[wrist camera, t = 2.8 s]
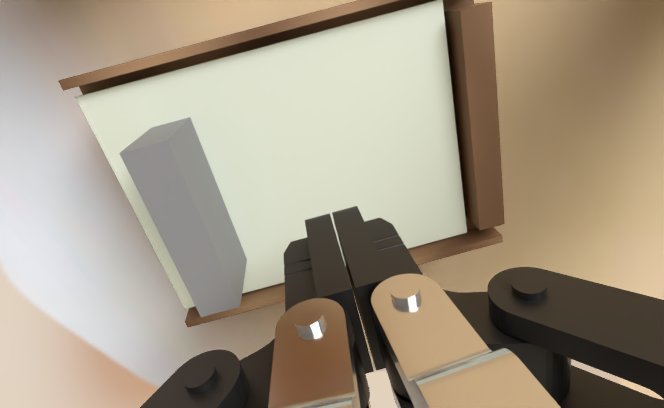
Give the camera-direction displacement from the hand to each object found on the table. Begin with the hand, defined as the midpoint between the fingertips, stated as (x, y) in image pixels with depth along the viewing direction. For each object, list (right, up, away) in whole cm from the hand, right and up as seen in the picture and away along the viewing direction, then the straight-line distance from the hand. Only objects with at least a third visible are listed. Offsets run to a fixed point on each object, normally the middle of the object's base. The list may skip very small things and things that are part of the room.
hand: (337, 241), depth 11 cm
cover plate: (-2, +3, +7) cm, 7 cm away
